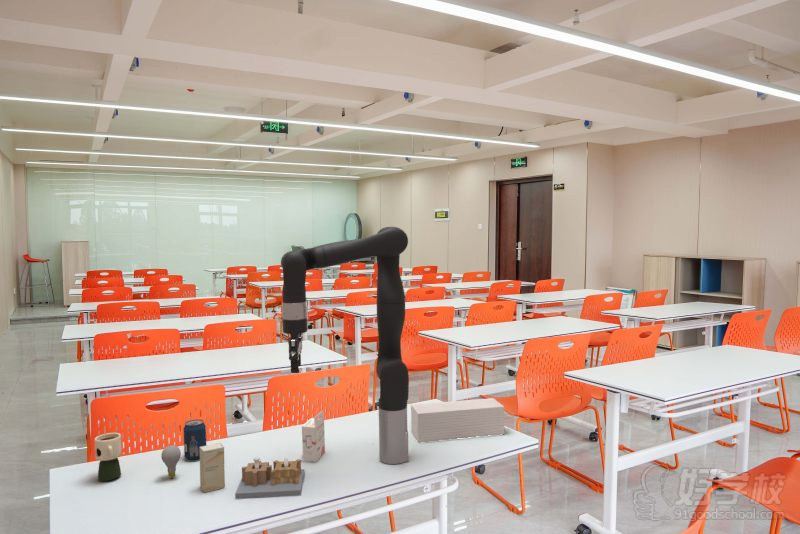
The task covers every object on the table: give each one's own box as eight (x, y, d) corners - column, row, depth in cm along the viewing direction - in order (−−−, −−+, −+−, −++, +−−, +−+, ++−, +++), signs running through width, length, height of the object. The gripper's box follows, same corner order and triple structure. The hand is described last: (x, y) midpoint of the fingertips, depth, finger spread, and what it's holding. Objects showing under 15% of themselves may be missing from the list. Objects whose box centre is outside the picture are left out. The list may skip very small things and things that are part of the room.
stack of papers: (493, 425, 212) (493, 397, 211) (504, 435, 201) (504, 406, 201) (411, 433, 205) (410, 404, 204) (418, 443, 195) (417, 413, 194)
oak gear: (301, 472, 169) (301, 459, 168) (299, 484, 161) (298, 470, 160) (274, 473, 168) (273, 460, 168) (270, 485, 160) (269, 472, 160)
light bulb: (163, 483, 166) (161, 450, 165) (161, 476, 170) (160, 444, 170) (182, 479, 168) (181, 447, 167) (180, 472, 173) (179, 441, 172)
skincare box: (203, 493, 159) (202, 451, 158) (199, 487, 163) (198, 446, 162) (225, 487, 162) (224, 446, 162) (221, 481, 166) (220, 442, 165)
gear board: (304, 473, 171) (304, 448, 170) (300, 495, 157) (299, 467, 156) (244, 477, 169) (243, 450, 169) (235, 498, 155) (234, 470, 155)
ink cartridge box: (311, 451, 189) (310, 408, 188) (325, 452, 188) (324, 409, 187) (302, 461, 180) (300, 416, 179) (316, 462, 179) (315, 417, 178)
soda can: (201, 452, 189) (199, 417, 189) (210, 457, 184) (209, 422, 184) (181, 457, 184) (179, 422, 184) (190, 463, 180) (188, 427, 179)
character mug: (94, 475, 172) (92, 433, 171) (120, 469, 176) (118, 429, 175) (98, 488, 163) (96, 444, 162) (125, 481, 167) (123, 439, 166)
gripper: (305, 320, 163) (306, 374, 164) (308, 313, 177) (310, 363, 178) (279, 320, 162) (280, 375, 163) (284, 313, 176) (286, 364, 177)
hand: (296, 369), depth 171 cm, fingers open, 8 cm apart
